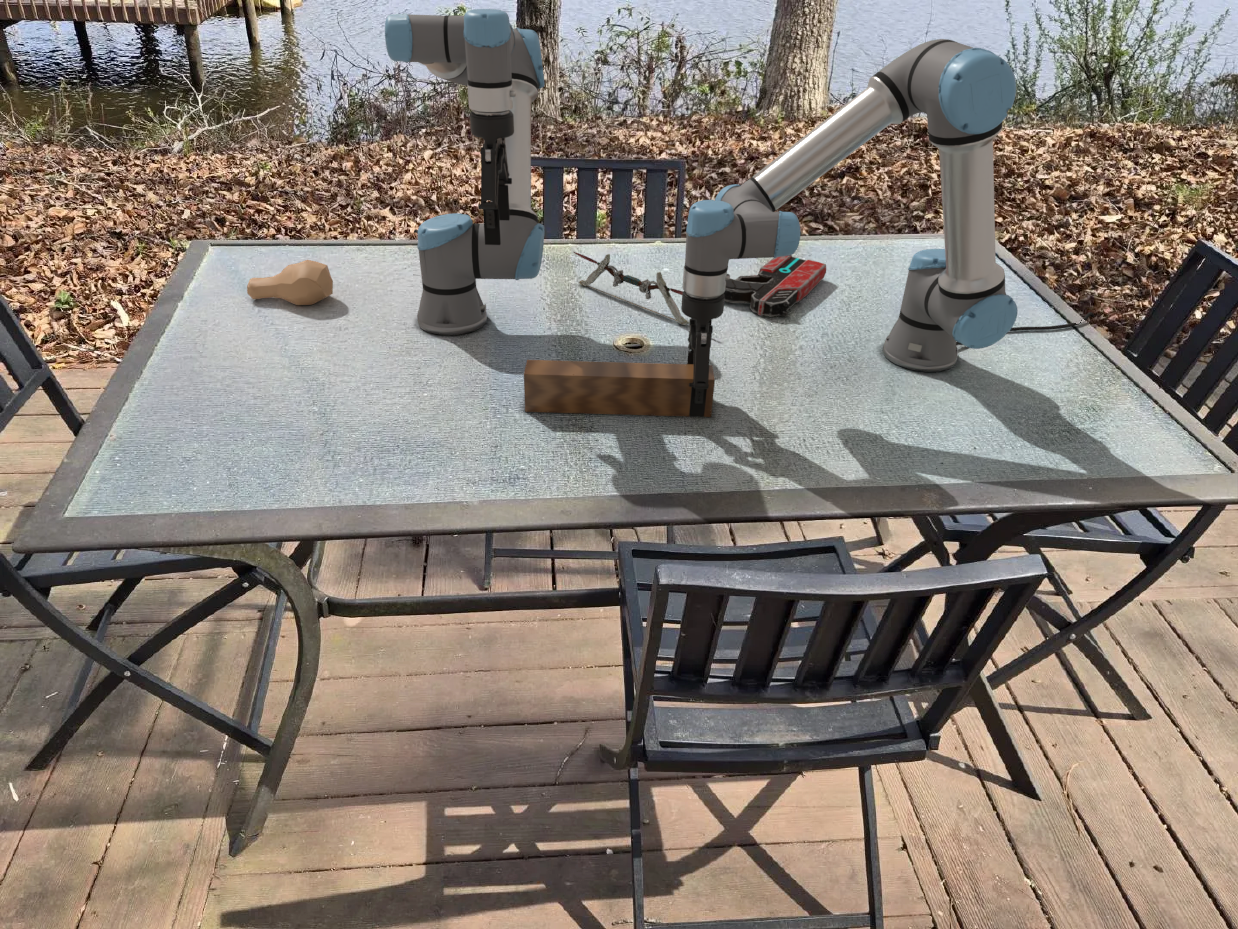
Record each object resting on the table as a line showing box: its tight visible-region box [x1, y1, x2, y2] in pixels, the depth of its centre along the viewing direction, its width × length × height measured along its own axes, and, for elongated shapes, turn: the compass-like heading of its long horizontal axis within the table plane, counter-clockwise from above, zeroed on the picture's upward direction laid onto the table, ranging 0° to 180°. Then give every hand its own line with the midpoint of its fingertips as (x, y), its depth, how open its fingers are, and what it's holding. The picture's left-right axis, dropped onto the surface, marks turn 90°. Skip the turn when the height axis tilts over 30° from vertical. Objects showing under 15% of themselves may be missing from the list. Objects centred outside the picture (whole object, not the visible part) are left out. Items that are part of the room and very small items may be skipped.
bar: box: [523, 359, 716, 418], centre depth 165 cm, size 35×6×8 cm, turn 89°
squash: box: [246, 259, 334, 306], centre depth 203 cm, size 11×20×9 cm, turn 90°
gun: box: [724, 254, 827, 318], centre depth 215 cm, size 4×31×19 cm
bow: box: [573, 251, 689, 326], centre depth 205 cm, size 39×2×10 cm, turn 47°
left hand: (497, 231), depth 163 cm, fingers open, 13 cm apart
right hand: (694, 398), depth 166 cm, fingers open, 12 cm apart
